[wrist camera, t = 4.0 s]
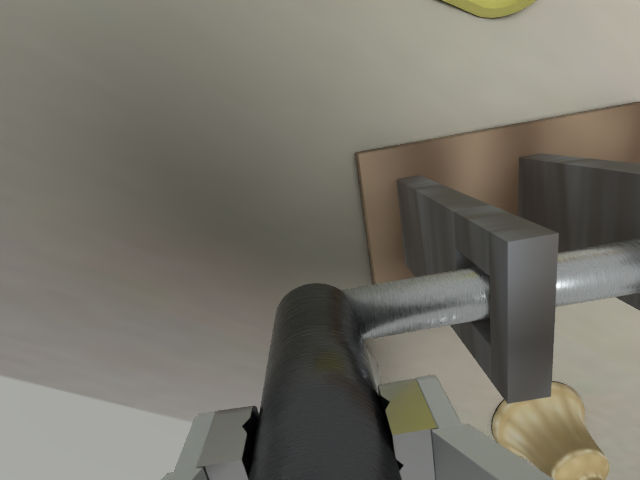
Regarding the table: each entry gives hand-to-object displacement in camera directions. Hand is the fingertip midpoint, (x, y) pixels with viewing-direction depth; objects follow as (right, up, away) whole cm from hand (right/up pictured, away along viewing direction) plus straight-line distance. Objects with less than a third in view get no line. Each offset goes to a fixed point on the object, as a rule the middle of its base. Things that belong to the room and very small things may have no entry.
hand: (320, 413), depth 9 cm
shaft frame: (+13, +8, +16) cm, 22 cm away
